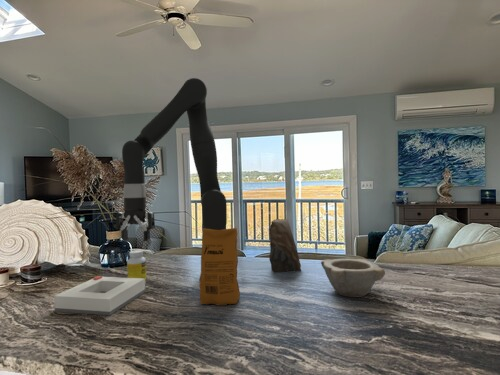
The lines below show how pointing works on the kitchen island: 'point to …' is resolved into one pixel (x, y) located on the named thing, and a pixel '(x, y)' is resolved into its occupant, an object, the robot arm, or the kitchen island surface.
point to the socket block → (99, 295)
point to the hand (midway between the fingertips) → (135, 240)
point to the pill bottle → (136, 265)
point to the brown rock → (283, 248)
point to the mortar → (352, 275)
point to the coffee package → (219, 267)
